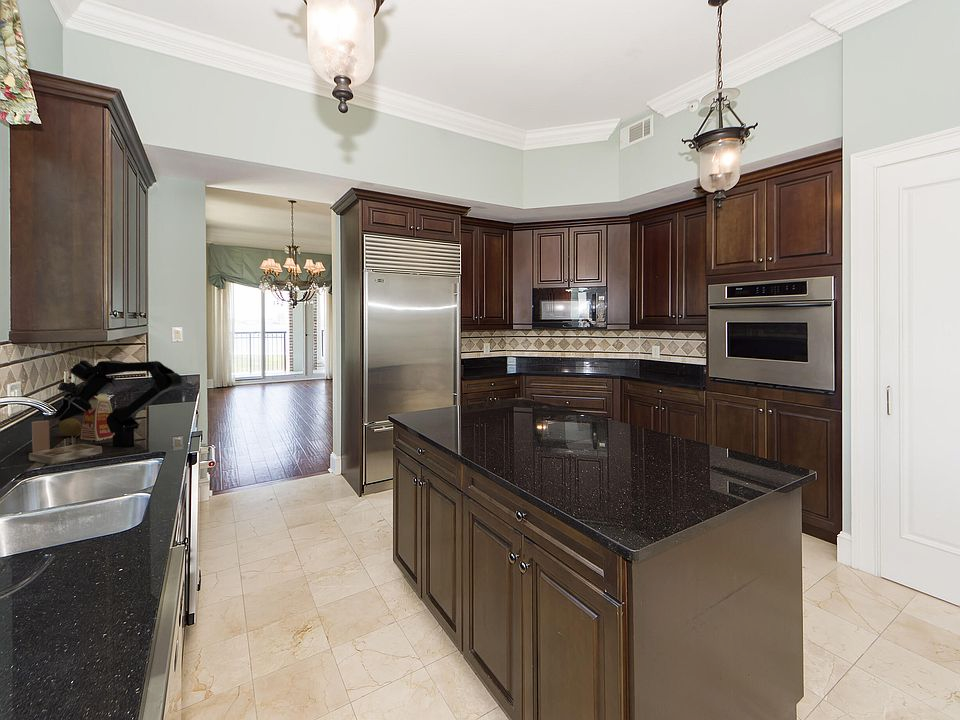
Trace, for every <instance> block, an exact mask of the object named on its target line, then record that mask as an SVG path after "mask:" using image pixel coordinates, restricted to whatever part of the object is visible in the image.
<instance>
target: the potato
mask: <svg viewBox="0 0 960 720" xmlns="http://www.w3.org/2000/svg"><path fill="white" fill-rule="evenodd" d="M58 428H59V431H60V433H61V434H62V435H63V436H65V437H67V436H75V437H76V436H79V435H81V429H82V423H81V422H80V421H78V419H76V418H73V417H70V418H68V419H65V420H63V421H60V423H59V425H58Z"/></svg>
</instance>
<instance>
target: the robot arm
mask: <svg viewBox="0 0 960 720" xmlns="http://www.w3.org/2000/svg"><path fill="white" fill-rule="evenodd" d="M69 372H70V374H72V375H73V376H75V377H76V378H78V379H79V380H81V382H82V381H83V382H85V383H84V384H79V385H76V382H72V381H69V382H64V381H61V382H60V383H59V385H58V386H57V390H59V391H61V392H65V393H64V394H63V395H62V396H61V400H62V401H61V405H59V407H58V408H57V410H56V412H57V414H56V415H53V417H54V418H58V417H59V418H58V421H59V422H61V421H63V420H65V419H70V418H73V417H75V416H77V415H80V414H83V413H85V411H88V410H89V409H91V404H90V402H89V401H90V400H91V399H92V398H94V397H95V396H98V395H99V394H100V392H102V391H103V390H104V389H105V388H106V387H108V386H109V384H110V385H111V386H113V387H115V386H116V378H115V377H109V376H110V375H111V376H112V375H113V376H114V375H119V374H123V373H133V372H134V373H135V372H148V373H149V374H150V376H151V378H152V379H153V380H154V382H153V384H152V386H151V387H150V388H149V389H147V391H145V392H143V393H142V394H141V395H139V397H138V398H136V399H135V400H133V402H131V403H130V404H128V405H125V406H120V407H116V408H114V409H113V410H112V412H111V413H109V414H108V415H109V416H108V417H107V418H106V420H107V421H106V422H107V425H108V427H109V429H110V432H111V433H114V435H113V437H112V446H113V447H114V448H129V447H135V446H136V442H135V441H136V440H135V430H138V429H139V427H140V423H138V421H137V420H136V416H137V414H138V413H140V412H142V410H144V409H145V408H146V407H148V406H149V405H150V404H151V403H152V402H154V401H155V400H156V399H158V398H159V397H160V396H161V395H163V394H165V393H166V392H169V391H172V390H174V389H176V388H177V387H179V386H181V385H182V383H183V382H182V380H183V379H182V377H181V375H180V374H179V373H177V372H175V371H174V370H173V369H171V368H170V367H168V366H165V365H164V363H162V362H161V361H158V360H154V361H153V360H151V361H140V362H136V361H135V362H134V361H133V362H125V361H121V360H103V361H102V360H101V361H98V362H97V363H96V365H92V364H91V363H89V361H87V360H80V361H79V362H78V363H76V364H75V365H73V366H72V367H71V368H70V371H69Z"/></svg>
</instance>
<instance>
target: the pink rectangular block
mask: <svg viewBox="0 0 960 720" xmlns="http://www.w3.org/2000/svg"><path fill="white" fill-rule="evenodd" d="M31 435H32V436H31V437H32V439H31V440H32V442H31V443H32V453H34V452H39V451H44V450H49V449H51V445H50V443H51V442H50V421H49V420H47V419H46V420H37V421H31Z"/></svg>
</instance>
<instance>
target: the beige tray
mask: <svg viewBox="0 0 960 720" xmlns="http://www.w3.org/2000/svg"><path fill="white" fill-rule="evenodd" d="M100 454H103V447H102V446H101V445H93V444H86V443H78V444H71V445H65V446H61V447H60V446H59V447H55V448H50V449H49V450H44V451H39V452H34V453H33V452H29V453H28V460H29V461H32V462H37V463H42V464H49V465H54V464H58V463H63V462H68V461H73V460H77V459H81V458H82V459H83V458H87V457H90V456H95V455H100Z"/></svg>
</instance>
